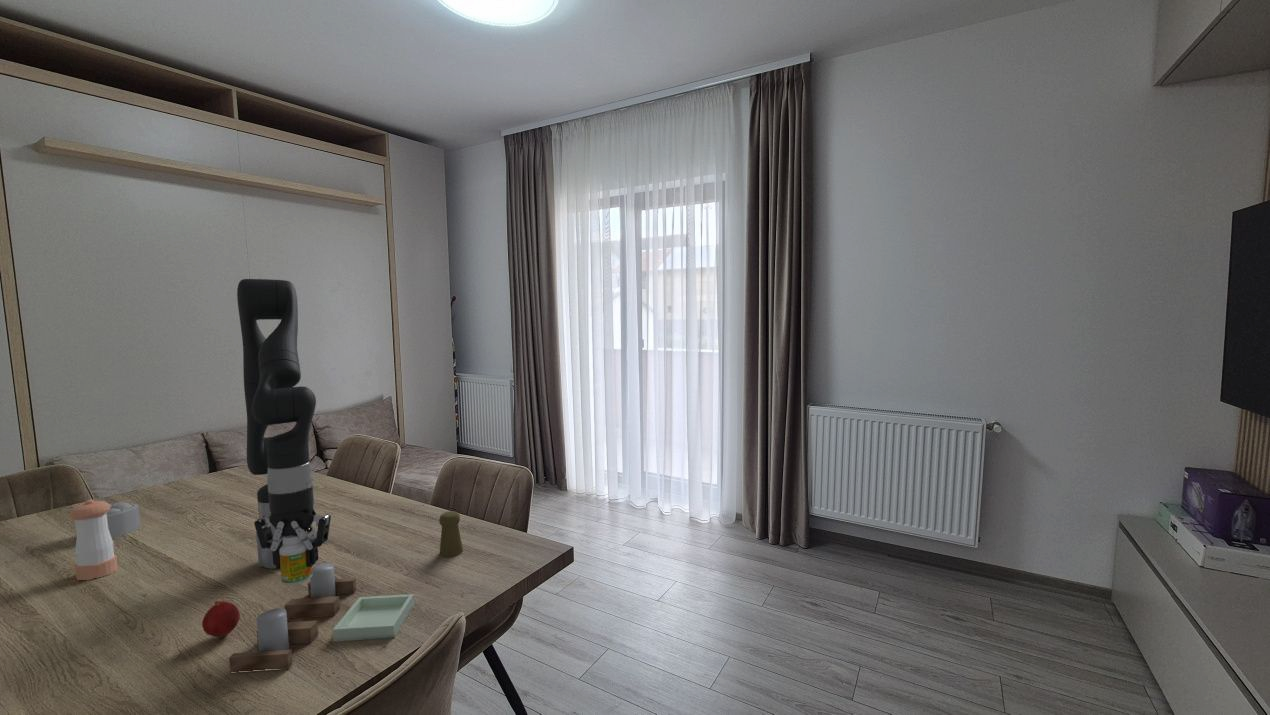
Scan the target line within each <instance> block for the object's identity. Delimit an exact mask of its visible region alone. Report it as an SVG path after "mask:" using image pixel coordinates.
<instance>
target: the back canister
mask: <svg viewBox="0 0 1270 715" xmlns="http://www.w3.org/2000/svg"><path fill="white" fill-rule="evenodd" d="M309 582H310V583H311V596H310V598H317V597H335V596H336V595H337V594H335V565H334V564H333V563H329V562H325V563H320V564H317V565H313V566H312V577H311V578H310V579H309Z"/></svg>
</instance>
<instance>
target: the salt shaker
mask: <svg viewBox="0 0 1270 715" xmlns="http://www.w3.org/2000/svg"><path fill="white" fill-rule="evenodd" d="M109 504H110V503H108V502H107V501H101V500H94V499H87V500H86V501H85V502H84V503H81V504H78V505H77V506H74V507H73V508H72V509H71V511H70V512H69V513H70V514H69V517H70V518H71V519H72V520H74V522H75V530H76V531H75V532H76V542H75V550H74V553H75V559H76V563H75V565H74V570H75V572H74V573H75V578H76V579H77V581H78V580H87V581H90V580H89V579H93V580H95V579H94V578H97V579H100V578H99V577H101V578H103V577H102V576H104V577H106V576H105V575H107V576H109V575H112V574H113V573H115V572H116V571H117V570H118V559H117V554H115V553H114V552H115V551H114V540H113V539H112V538H111V535H110V532H109V529H108V522H107V513H108V512H109V510H110V505H109ZM114 571H115V572H114ZM108 574H109V575H108Z"/></svg>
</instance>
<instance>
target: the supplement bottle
mask: <svg viewBox="0 0 1270 715" xmlns="http://www.w3.org/2000/svg"><path fill="white" fill-rule="evenodd" d="M305 533H307V531H306V532H305ZM282 540H283V544H284V545H283V546H282V547H281V548H280V550H279V556H280V568H279V569H280V579H281V580H280V581H281V584H282V585H284V586H287V587H288V586H289V587H291V586H296V585H297V586H298V585H301V584H303V583H305V582H307V581H310V578H311V577H312V568H313V566H312V567H307V560H306V550H307V548H306V546H305V544H304V542H303V541H301V540H300V538H299V536H294V535H289V536H283V537H282Z"/></svg>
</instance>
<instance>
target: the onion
mask: <svg viewBox="0 0 1270 715" xmlns="http://www.w3.org/2000/svg"><path fill="white" fill-rule="evenodd" d="M240 618H241V614H240V610H239V608H238V607H237V605H235V604H234V603H232V602H230V601H229V602H228V601H224V600H222V599H217V600H215V601H214V605H213V606H211V607H210V608H209V609H208V610H207V612H206V613H205V614H204V617H203V619H202V622H201V623H202V624H201V627H202V629H203V630H202V631H204V633H206V635H208V636H211V637H215V638H218V639H223V637H224V638H225V637H227V635H230V633H232V631H233V630H234V629H235V628H236V627H237V625H238V624H239V622H240Z"/></svg>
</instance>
